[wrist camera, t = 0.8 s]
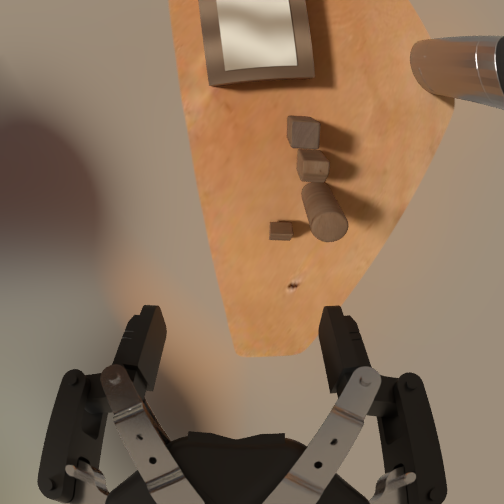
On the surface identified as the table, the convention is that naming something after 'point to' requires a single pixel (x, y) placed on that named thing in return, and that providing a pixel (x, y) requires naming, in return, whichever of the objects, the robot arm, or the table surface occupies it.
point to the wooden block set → (312, 185)
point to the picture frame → (256, 40)
